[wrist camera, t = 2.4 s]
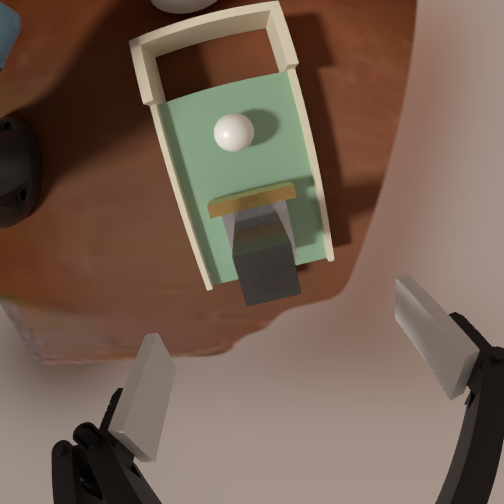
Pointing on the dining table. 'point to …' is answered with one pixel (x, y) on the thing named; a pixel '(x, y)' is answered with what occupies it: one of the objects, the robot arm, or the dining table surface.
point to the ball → (234, 132)
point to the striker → (261, 241)
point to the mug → (182, 5)
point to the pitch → (245, 161)
